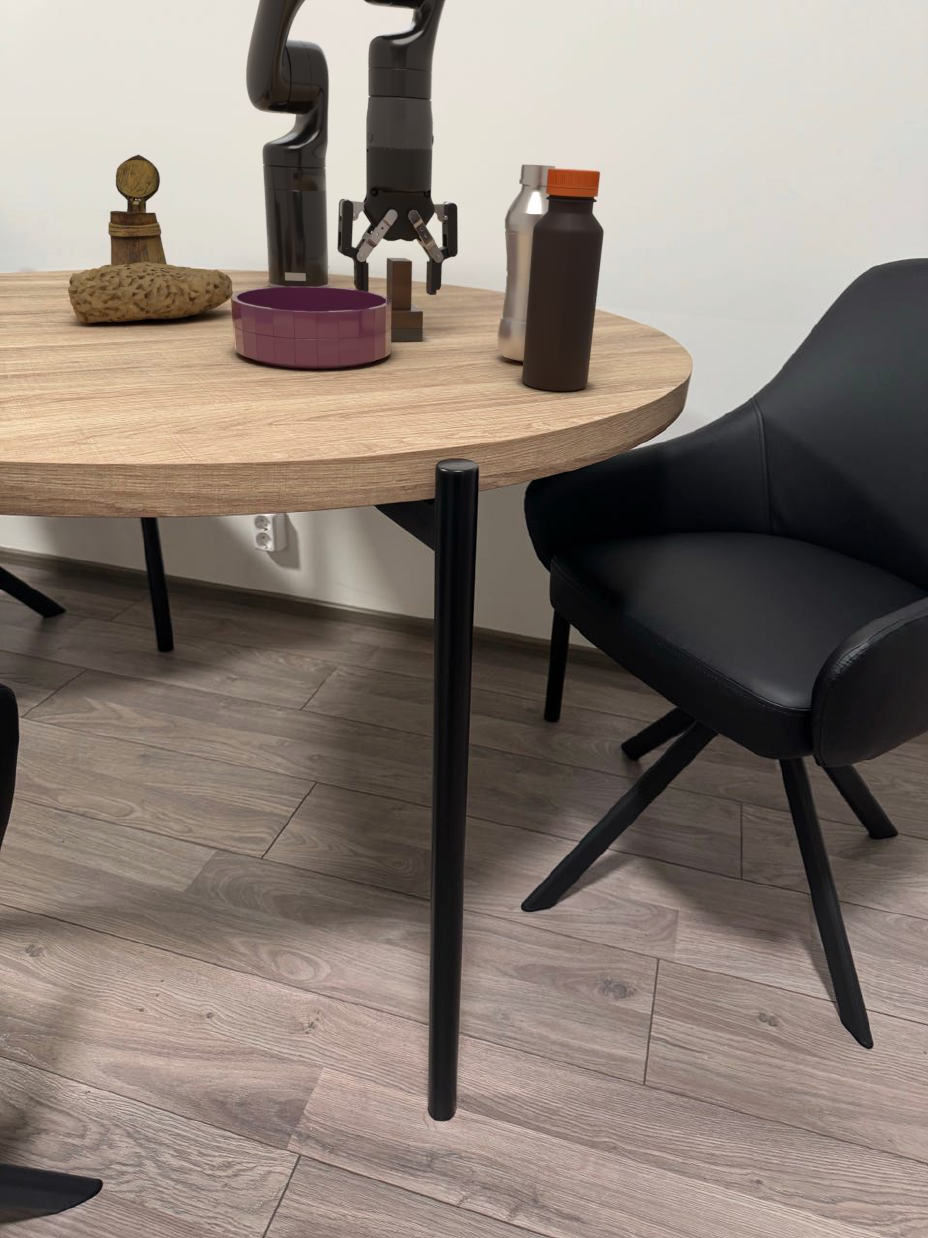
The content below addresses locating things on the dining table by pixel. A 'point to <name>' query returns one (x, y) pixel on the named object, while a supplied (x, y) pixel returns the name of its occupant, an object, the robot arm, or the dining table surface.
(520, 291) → the silver metal bottle
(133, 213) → the brown wooden stand
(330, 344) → the bowl
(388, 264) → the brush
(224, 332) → the dining table surface
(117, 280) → the sponge
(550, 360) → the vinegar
